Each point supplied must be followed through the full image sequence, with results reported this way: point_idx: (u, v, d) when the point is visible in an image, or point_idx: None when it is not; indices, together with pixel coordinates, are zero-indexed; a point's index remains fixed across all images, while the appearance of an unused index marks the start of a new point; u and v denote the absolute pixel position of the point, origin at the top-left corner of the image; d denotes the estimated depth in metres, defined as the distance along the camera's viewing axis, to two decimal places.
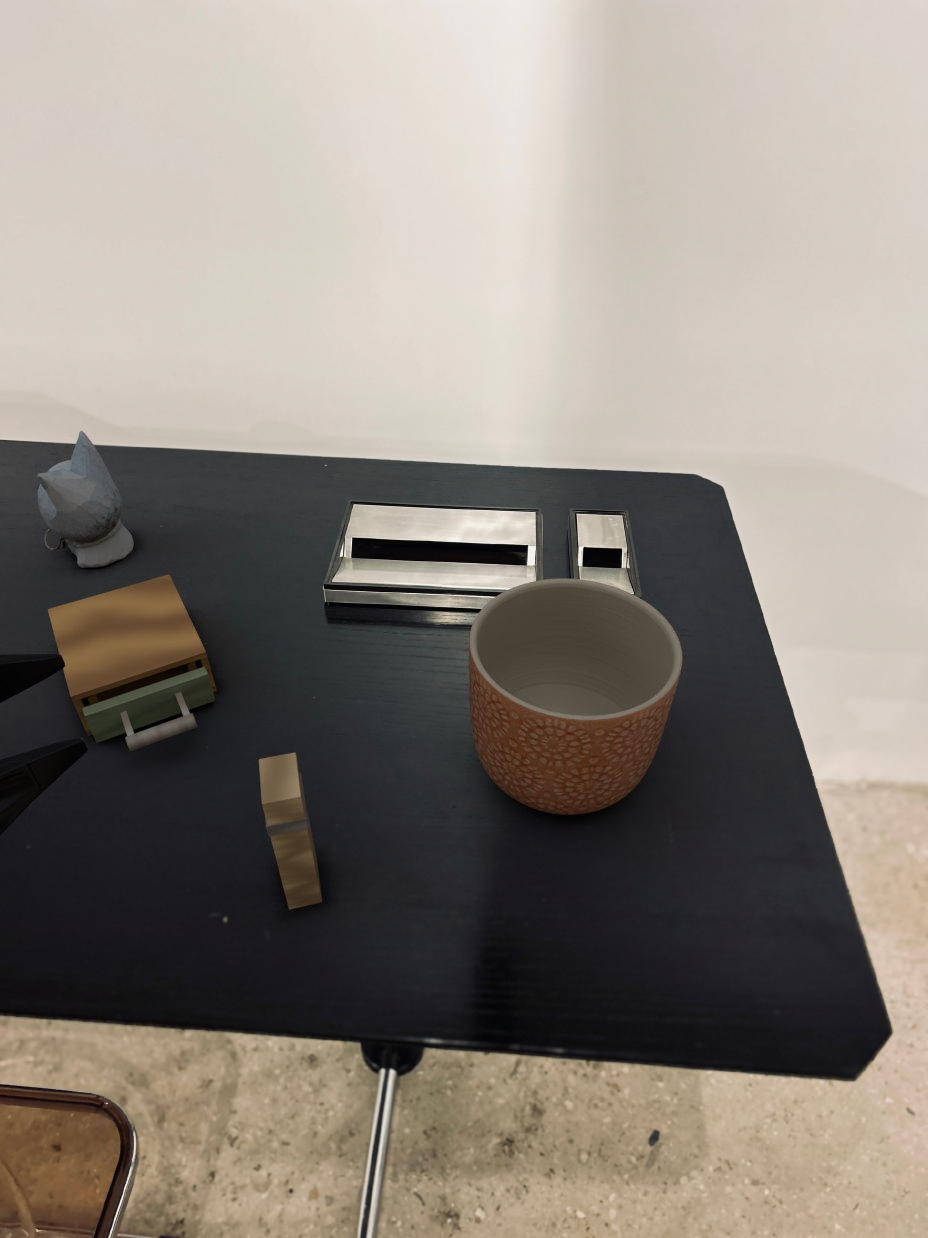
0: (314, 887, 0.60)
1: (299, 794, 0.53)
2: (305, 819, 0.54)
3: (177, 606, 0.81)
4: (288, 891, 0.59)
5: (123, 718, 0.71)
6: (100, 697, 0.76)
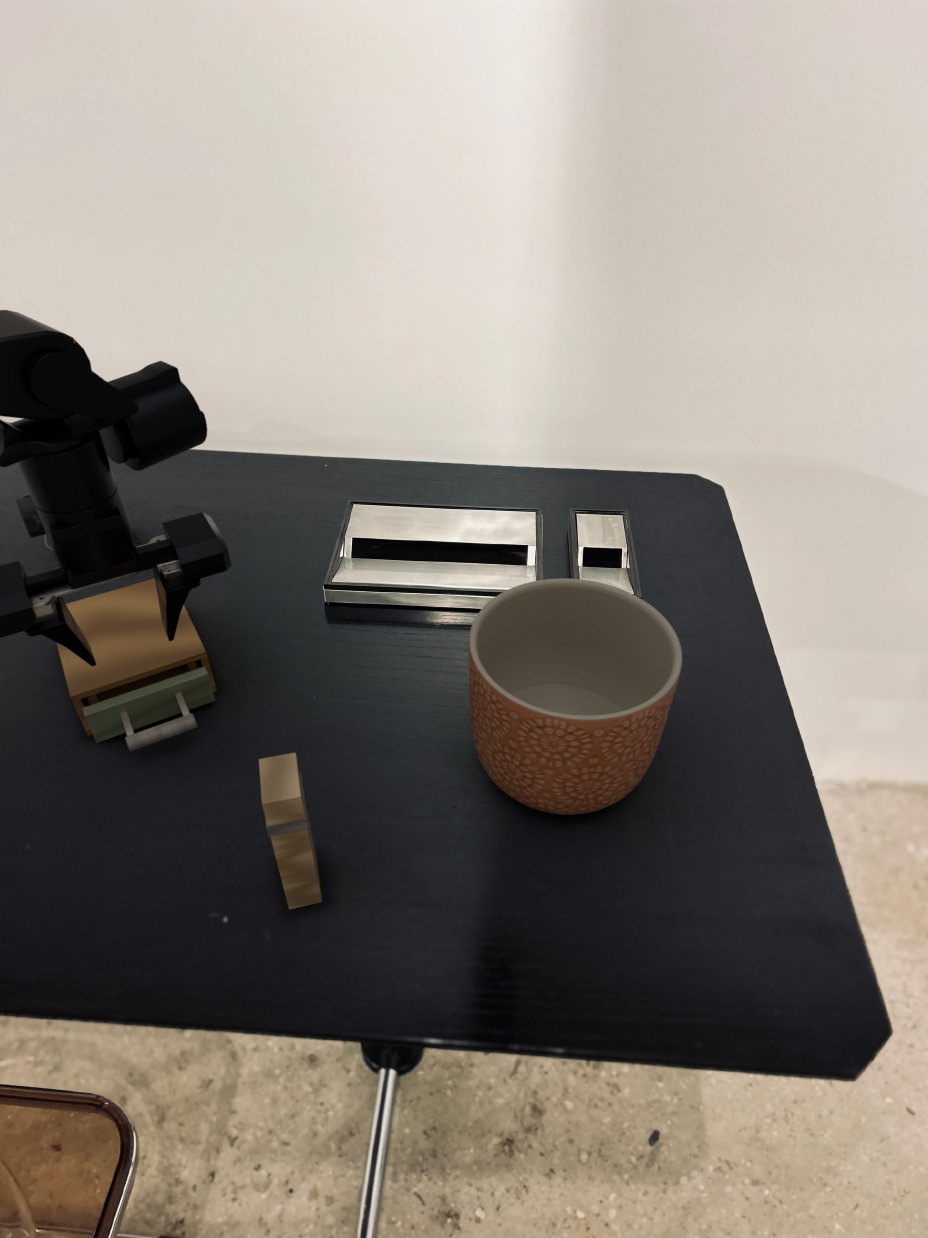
0: (314, 887, 0.60)
1: (299, 794, 0.53)
2: (305, 819, 0.54)
3: None
4: (288, 891, 0.59)
5: (123, 718, 0.71)
6: (100, 697, 0.76)
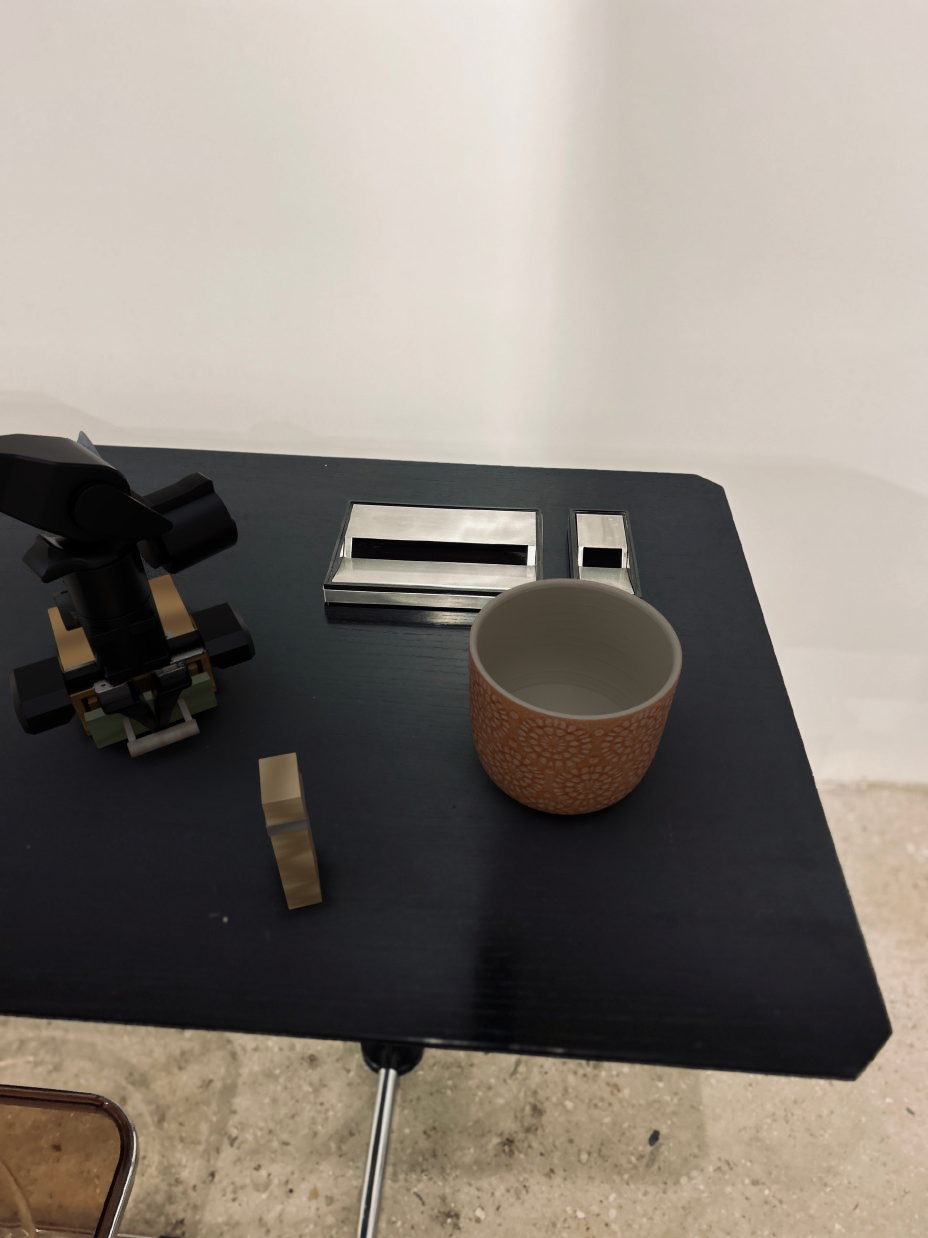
0: (314, 887, 0.60)
1: (299, 794, 0.53)
2: (305, 819, 0.54)
3: (177, 606, 0.81)
4: (288, 891, 0.59)
5: (125, 724, 0.71)
6: None
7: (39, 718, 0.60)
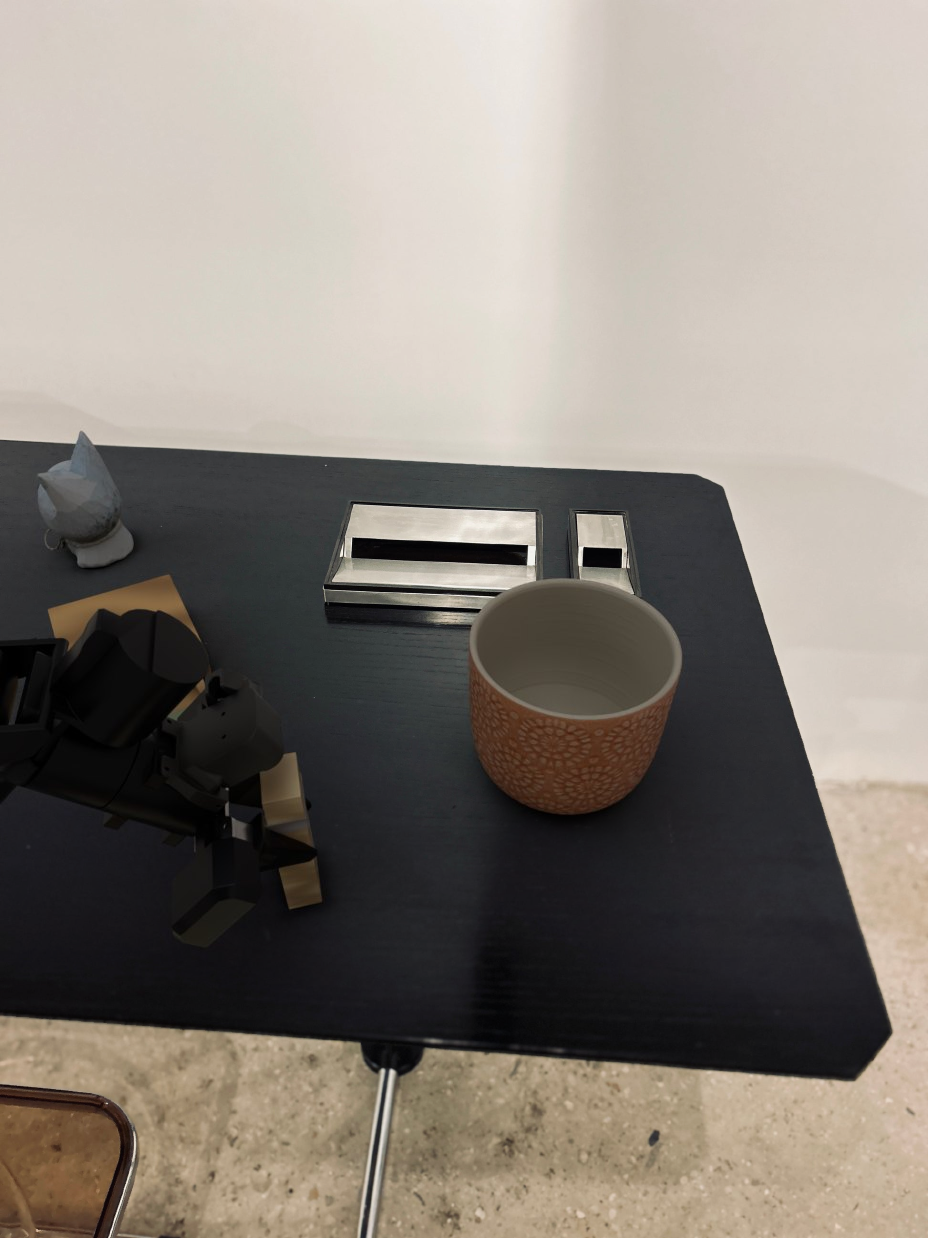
0: (314, 887, 0.60)
1: (299, 794, 0.53)
2: (305, 819, 0.54)
3: (177, 606, 0.81)
4: (288, 890, 0.59)
5: None
6: None
7: None
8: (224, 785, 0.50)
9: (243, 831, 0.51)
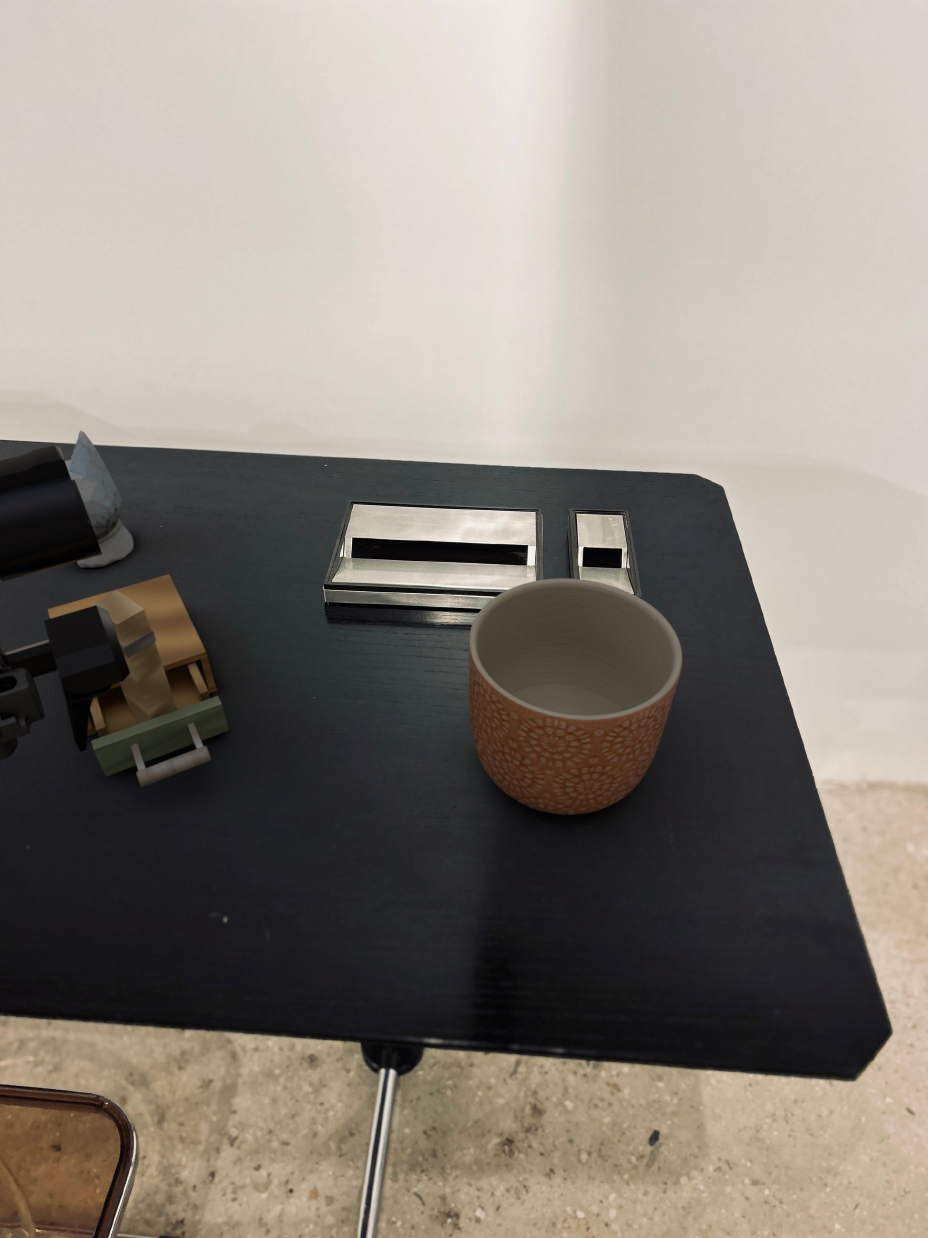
0: (172, 704, 0.72)
1: (142, 608, 0.65)
2: (152, 631, 0.66)
3: (177, 606, 0.81)
4: (153, 714, 0.70)
5: (134, 751, 0.68)
6: (109, 727, 0.73)
7: None
8: None
9: None
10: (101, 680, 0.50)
